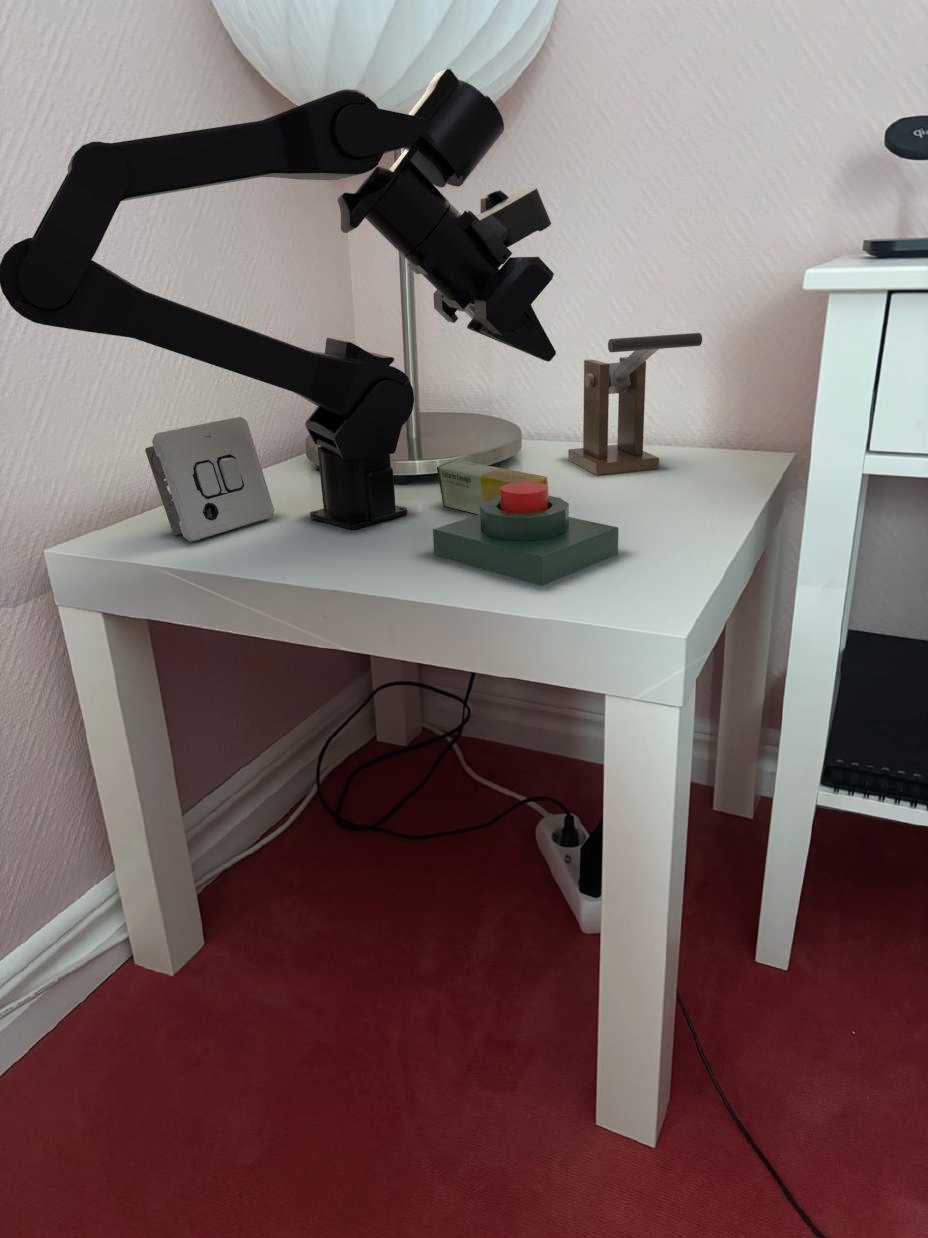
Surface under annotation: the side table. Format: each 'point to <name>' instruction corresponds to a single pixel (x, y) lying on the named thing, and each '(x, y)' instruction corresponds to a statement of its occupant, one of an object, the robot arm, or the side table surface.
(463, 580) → the side table surface
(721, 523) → the side table surface
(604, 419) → the bracket
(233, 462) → the electrical switch
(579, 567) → the button box
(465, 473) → the medication box
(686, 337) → the lever
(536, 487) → the button
